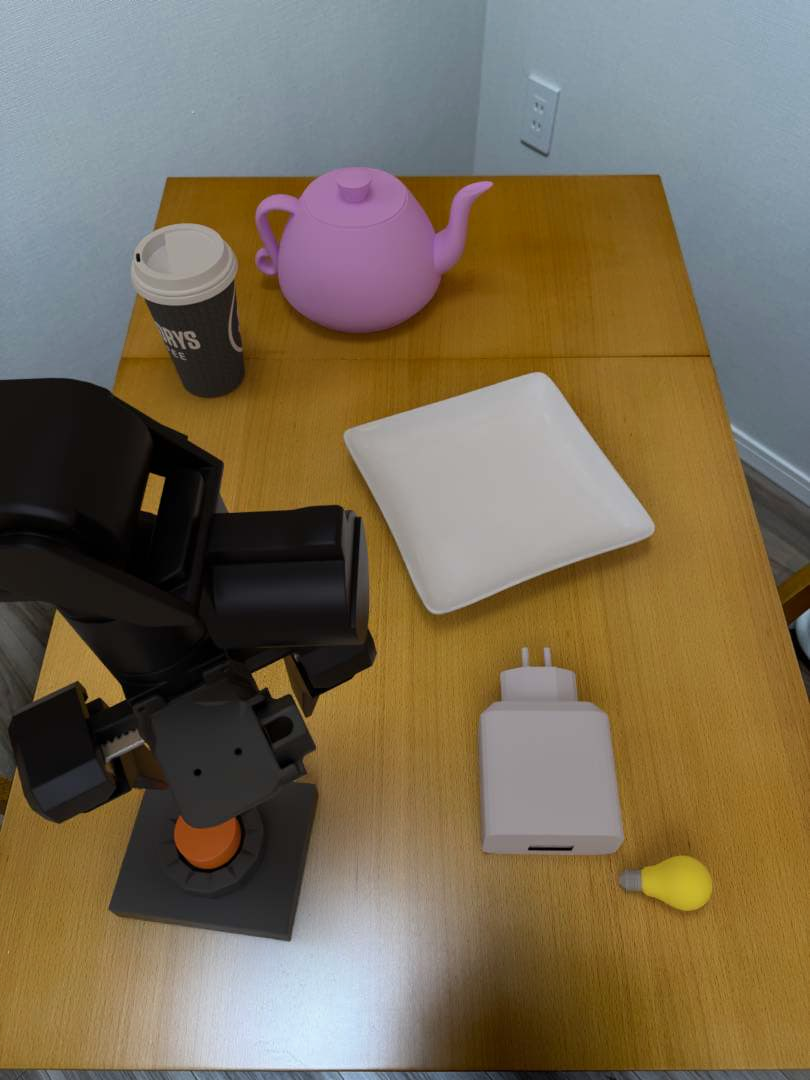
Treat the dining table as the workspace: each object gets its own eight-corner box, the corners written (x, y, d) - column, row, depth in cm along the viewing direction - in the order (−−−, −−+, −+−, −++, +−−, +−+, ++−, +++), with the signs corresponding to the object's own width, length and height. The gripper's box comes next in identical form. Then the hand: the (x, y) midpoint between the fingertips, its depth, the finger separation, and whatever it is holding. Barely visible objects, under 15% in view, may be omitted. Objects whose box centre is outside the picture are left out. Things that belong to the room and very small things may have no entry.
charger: (590, 662, 68) (613, 856, 60) (474, 661, 69) (481, 854, 60) (600, 633, 64) (627, 836, 56) (477, 633, 65) (485, 835, 56)
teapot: (246, 340, 90) (222, 227, 79) (271, 237, 100) (252, 124, 89) (484, 347, 89) (493, 234, 78) (485, 242, 99) (493, 128, 88)
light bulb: (714, 908, 58) (715, 914, 54) (623, 904, 59) (618, 909, 56) (710, 855, 59) (710, 857, 55) (620, 852, 60) (615, 854, 57)
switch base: (117, 916, 58) (98, 903, 55) (160, 773, 64) (146, 753, 60) (290, 941, 57) (282, 929, 54) (319, 794, 63) (313, 775, 59)
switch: (174, 864, 56) (166, 856, 55) (190, 804, 59) (183, 794, 57) (233, 873, 56) (227, 864, 54) (247, 812, 58) (242, 802, 56)
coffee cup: (181, 339, 91) (143, 214, 78) (269, 346, 90) (245, 221, 77) (154, 404, 85) (108, 281, 73) (247, 413, 84) (217, 290, 72)
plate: (655, 551, 74) (664, 528, 71) (430, 636, 70) (431, 616, 67) (540, 390, 86) (544, 365, 83) (340, 455, 81) (338, 430, 78)
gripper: (-15, 881, 33) (129, 952, 46) (410, 664, 37) (434, 786, 50) (-60, 657, 39) (78, 775, 52) (308, 490, 43) (353, 638, 56)
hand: (237, 745), depth 52 cm, fingers open, 9 cm apart
